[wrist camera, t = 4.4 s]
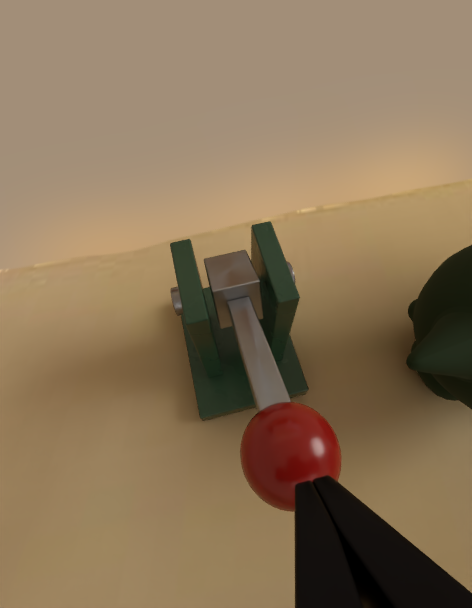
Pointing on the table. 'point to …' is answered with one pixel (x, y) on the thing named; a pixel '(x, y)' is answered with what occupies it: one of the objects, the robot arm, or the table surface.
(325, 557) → the robot arm
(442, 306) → the toy figurine
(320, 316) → the table surface
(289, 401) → the lever
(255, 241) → the bracket
